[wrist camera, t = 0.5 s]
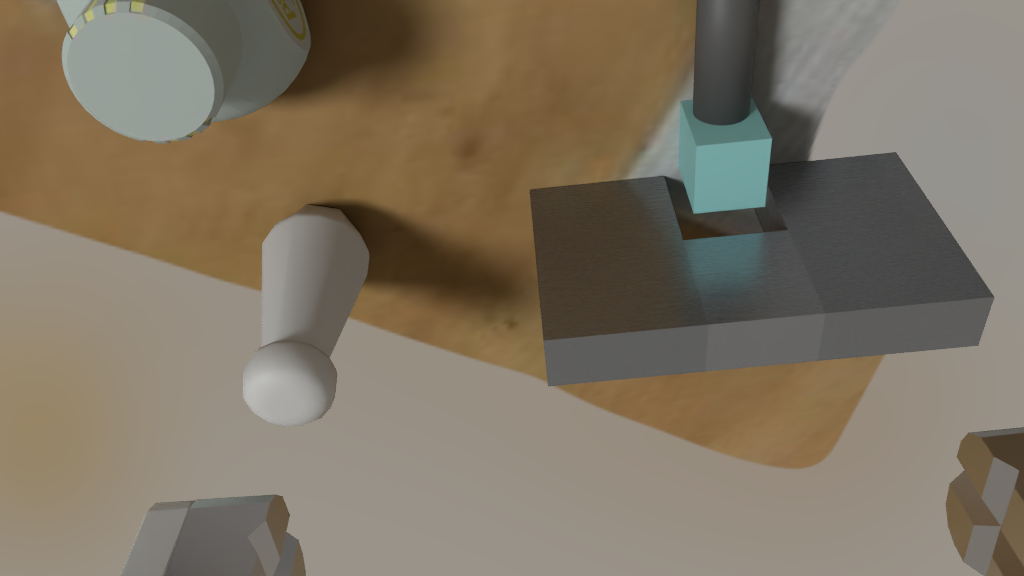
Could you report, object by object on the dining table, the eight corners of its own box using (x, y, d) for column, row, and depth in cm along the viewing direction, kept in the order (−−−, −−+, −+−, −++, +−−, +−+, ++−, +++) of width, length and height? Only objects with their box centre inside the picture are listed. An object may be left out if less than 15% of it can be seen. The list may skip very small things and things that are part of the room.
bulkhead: (529, 189, 49) (543, 340, 40) (895, 152, 49) (994, 297, 40) (534, 233, 51) (548, 386, 42) (886, 197, 51) (978, 345, 42)
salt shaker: (270, 183, 49) (220, 352, 39) (377, 198, 49) (354, 366, 40) (268, 266, 52) (221, 439, 42) (367, 278, 53) (344, 451, 43)
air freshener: (49, -109, 39) (-54, -20, 31) (220, -178, 37) (156, -101, 30) (186, 104, 45) (130, 221, 38) (336, 53, 44) (308, 164, 36)
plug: (685, -77, 40) (704, -41, 37) (765, -86, 40) (791, -50, 37) (678, 166, 49) (693, 213, 46) (745, 159, 49) (764, 206, 45)
